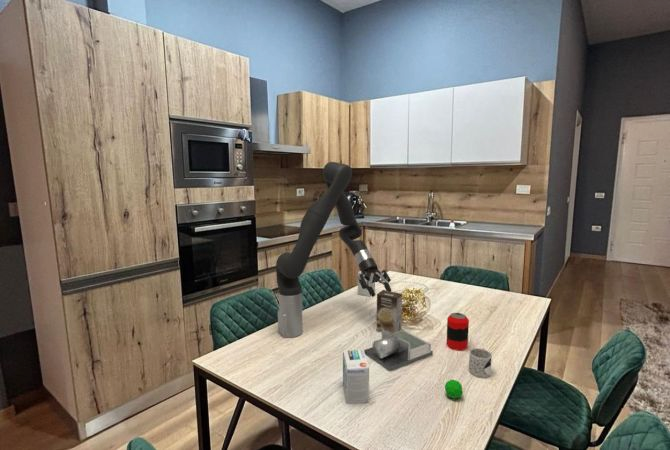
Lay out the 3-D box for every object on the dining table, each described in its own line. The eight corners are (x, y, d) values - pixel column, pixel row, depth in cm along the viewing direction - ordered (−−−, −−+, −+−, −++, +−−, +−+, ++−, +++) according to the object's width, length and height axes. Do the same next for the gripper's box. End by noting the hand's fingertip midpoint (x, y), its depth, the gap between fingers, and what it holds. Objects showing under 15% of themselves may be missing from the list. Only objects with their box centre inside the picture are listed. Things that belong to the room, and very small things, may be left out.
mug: (488, 380, 111) (489, 360, 110) (466, 374, 115) (467, 355, 114) (493, 366, 120) (494, 347, 119) (472, 360, 123) (473, 342, 122)
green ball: (458, 391, 106) (459, 376, 105) (465, 401, 101) (465, 386, 100) (442, 391, 106) (442, 376, 105) (447, 402, 101) (448, 386, 100)
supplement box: (357, 294, 192) (357, 272, 190) (363, 290, 198) (363, 268, 196) (369, 297, 188) (369, 273, 186) (375, 293, 194) (375, 270, 192)
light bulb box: (342, 382, 111) (342, 350, 109) (363, 381, 111) (363, 349, 110) (346, 404, 100) (346, 368, 99) (369, 403, 101) (370, 367, 99)
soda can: (467, 343, 136) (468, 313, 134) (467, 352, 129) (469, 320, 127) (446, 340, 139) (447, 310, 137) (446, 349, 132) (447, 318, 130)
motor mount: (389, 371, 117) (390, 350, 116) (364, 353, 128) (364, 334, 127) (432, 355, 127) (433, 335, 126) (405, 340, 139) (405, 321, 138)
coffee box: (375, 331, 147) (375, 293, 145) (381, 325, 152) (382, 289, 150) (396, 336, 142) (396, 297, 140) (402, 330, 147) (402, 293, 145)
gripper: (356, 259, 151) (372, 292, 143) (382, 255, 158) (399, 286, 150) (349, 268, 156) (364, 301, 148) (374, 264, 164) (390, 295, 156)
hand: (382, 294), depth 149 cm, fingers open, 8 cm apart
